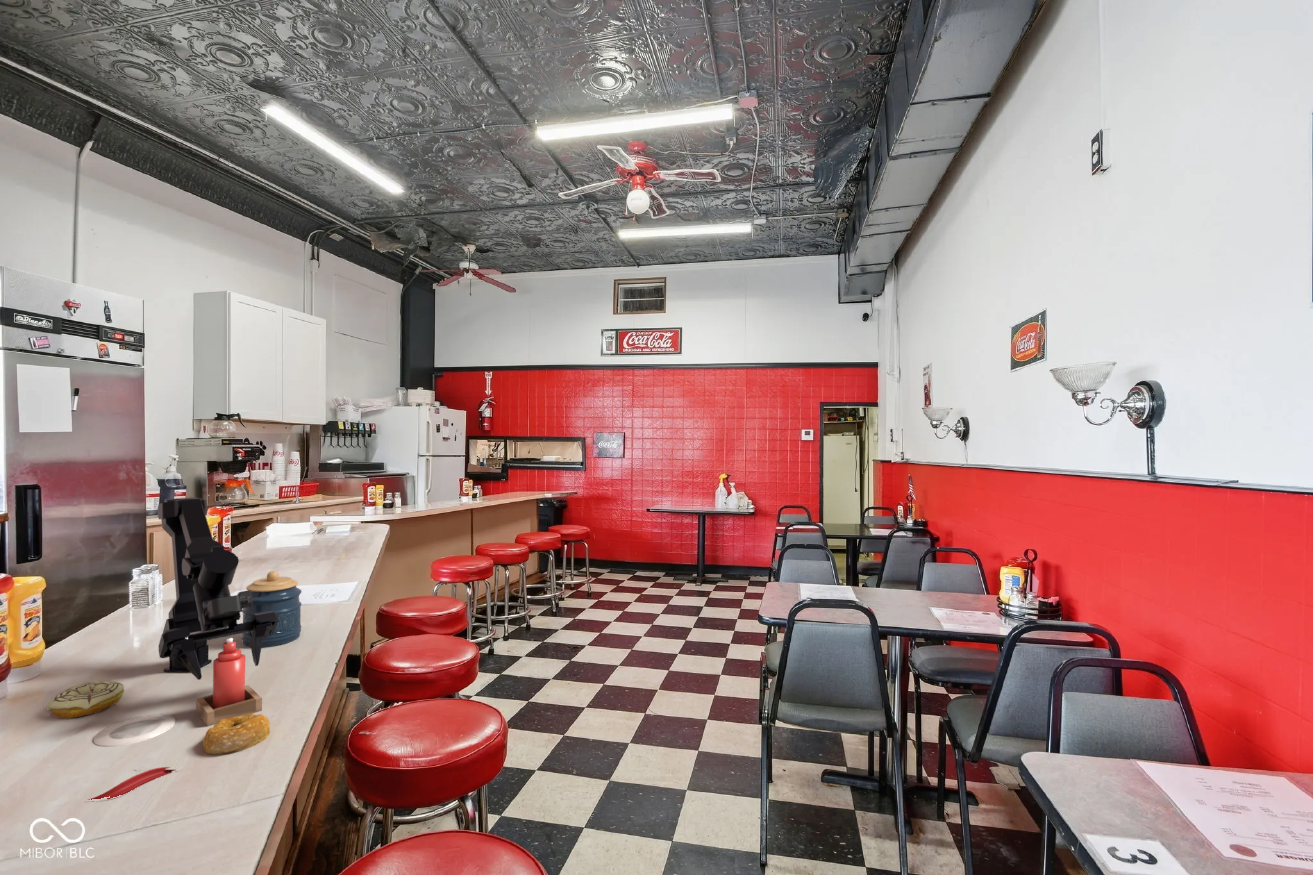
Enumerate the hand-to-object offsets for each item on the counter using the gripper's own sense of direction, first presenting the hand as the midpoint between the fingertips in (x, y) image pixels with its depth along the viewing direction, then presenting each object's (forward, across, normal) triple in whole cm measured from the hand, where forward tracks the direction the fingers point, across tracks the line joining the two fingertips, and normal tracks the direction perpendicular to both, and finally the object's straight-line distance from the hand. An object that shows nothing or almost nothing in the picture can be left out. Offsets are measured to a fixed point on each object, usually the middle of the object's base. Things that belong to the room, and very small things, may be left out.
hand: (229, 671), depth 116 cm
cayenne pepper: (+18, -16, -6) cm, 25 cm away
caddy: (+6, 0, +6) cm, 8 cm away
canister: (-23, +19, +35) cm, 46 cm away
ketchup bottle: (+5, 0, +6) cm, 8 cm away
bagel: (+16, -2, -3) cm, 16 cm away
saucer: (+4, -13, +8) cm, 16 cm away
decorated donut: (-10, -18, +22) cm, 30 cm away
